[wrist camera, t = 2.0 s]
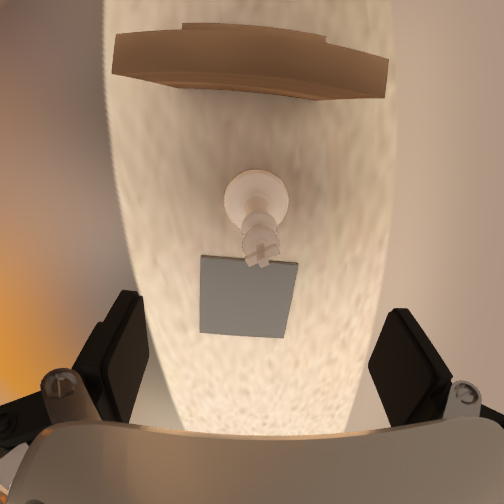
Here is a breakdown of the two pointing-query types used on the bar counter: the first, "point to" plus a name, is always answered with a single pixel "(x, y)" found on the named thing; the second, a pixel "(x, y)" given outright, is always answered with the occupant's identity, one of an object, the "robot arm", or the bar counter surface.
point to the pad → (245, 297)
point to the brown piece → (250, 61)
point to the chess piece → (257, 213)
